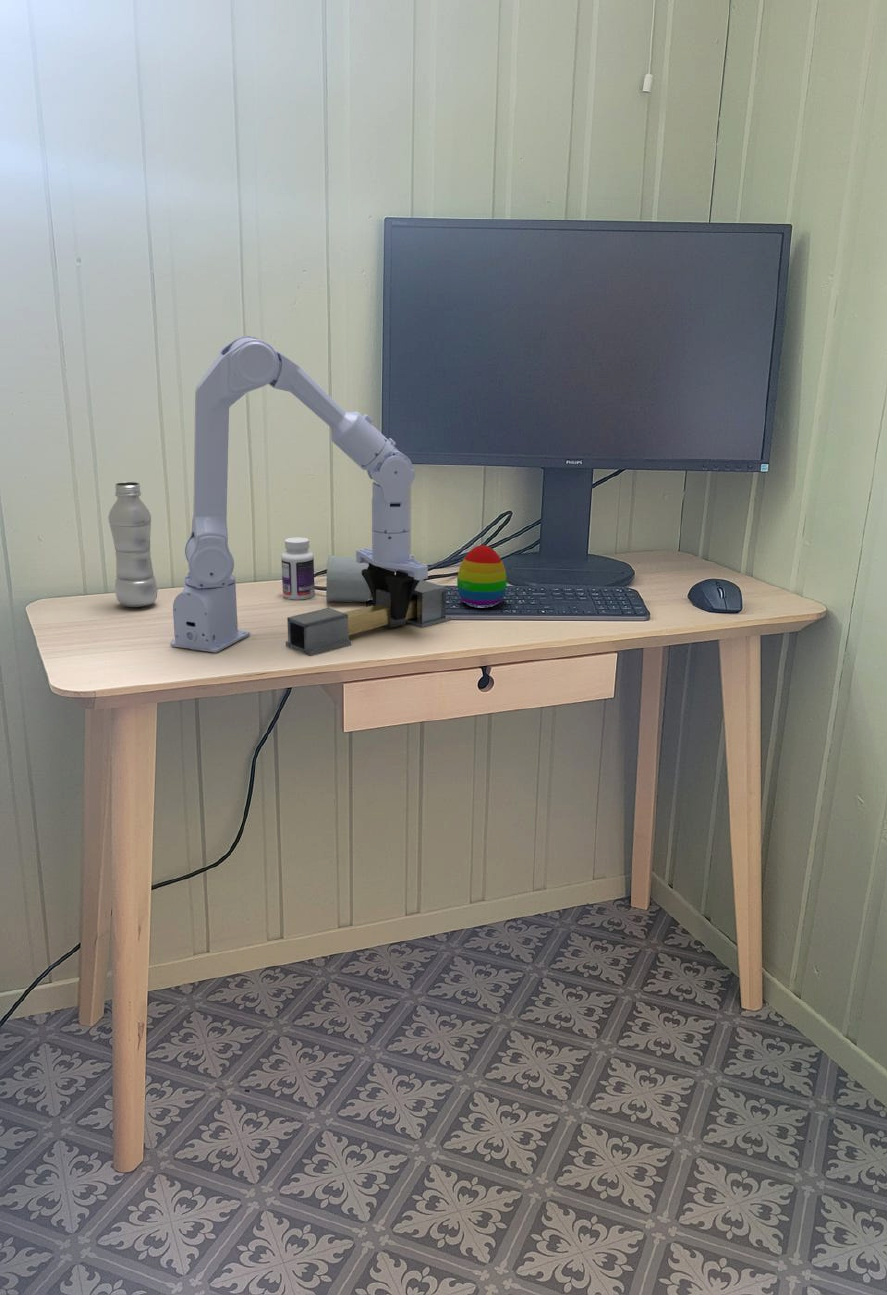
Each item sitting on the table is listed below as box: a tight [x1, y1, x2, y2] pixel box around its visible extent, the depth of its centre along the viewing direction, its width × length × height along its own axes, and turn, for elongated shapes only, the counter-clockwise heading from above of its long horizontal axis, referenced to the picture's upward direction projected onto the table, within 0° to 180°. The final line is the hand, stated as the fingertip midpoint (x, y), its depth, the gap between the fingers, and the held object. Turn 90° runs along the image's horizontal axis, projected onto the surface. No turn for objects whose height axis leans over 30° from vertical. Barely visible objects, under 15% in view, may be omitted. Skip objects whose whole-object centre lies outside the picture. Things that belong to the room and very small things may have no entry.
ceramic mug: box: [325, 555, 372, 603], centre depth 183 cm, size 11×8×8 cm
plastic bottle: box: [108, 481, 159, 608], centre depth 174 cm, size 6×7×20 cm
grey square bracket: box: [405, 579, 451, 628], centre depth 172 cm, size 6×7×5 cm
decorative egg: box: [456, 544, 507, 605], centre depth 180 cm, size 8×8×10 cm
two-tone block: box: [342, 586, 417, 636], centre depth 166 cm, size 17×3×6 cm, turn 133°
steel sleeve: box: [284, 607, 352, 657], centre depth 159 cm, size 8×6×4 cm
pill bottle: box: [281, 536, 316, 601], centre depth 183 cm, size 5×5×10 cm
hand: (391, 615), depth 168 cm, fingers closed on two-tone block, 3 cm apart
